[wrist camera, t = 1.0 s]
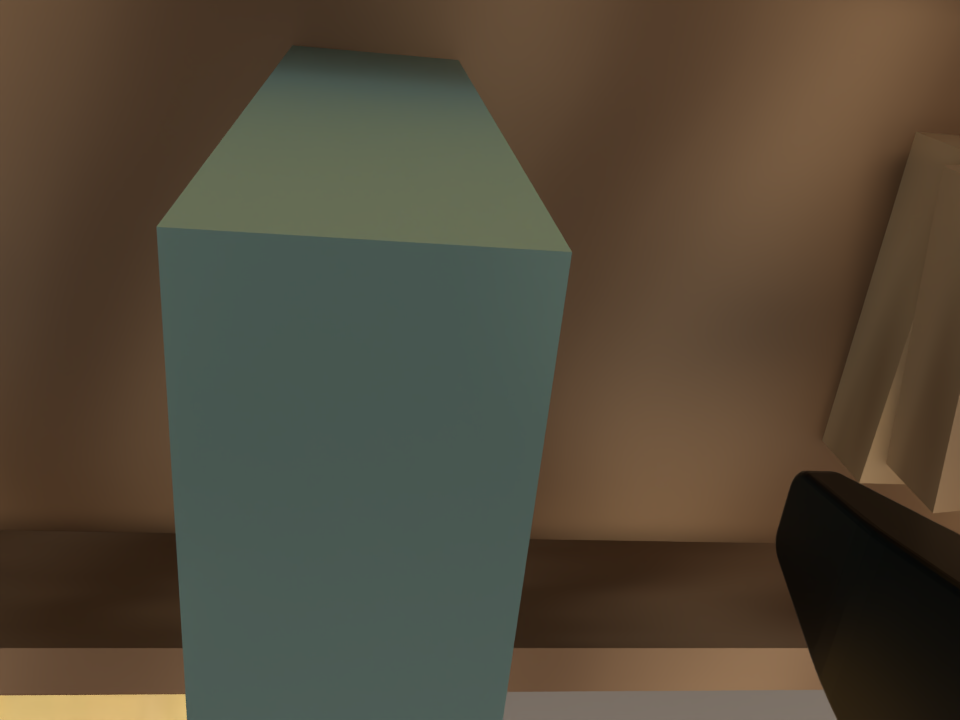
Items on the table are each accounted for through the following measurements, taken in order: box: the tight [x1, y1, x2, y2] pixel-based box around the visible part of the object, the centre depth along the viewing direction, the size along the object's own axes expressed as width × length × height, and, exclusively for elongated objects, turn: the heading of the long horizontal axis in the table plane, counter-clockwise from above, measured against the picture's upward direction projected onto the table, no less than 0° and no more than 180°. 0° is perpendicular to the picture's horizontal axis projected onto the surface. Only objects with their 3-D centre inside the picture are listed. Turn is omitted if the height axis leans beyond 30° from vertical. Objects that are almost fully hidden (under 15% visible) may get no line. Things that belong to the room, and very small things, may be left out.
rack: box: [0, 0, 960, 695], centre depth 13 cm, size 24×13×6 cm, turn 84°
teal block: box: [156, 45, 572, 720], centre depth 11 cm, size 2×7×9 cm, turn 174°
